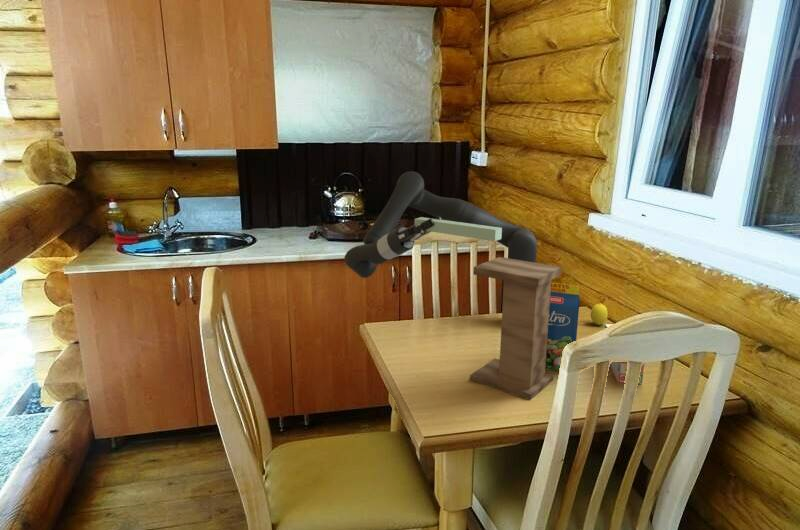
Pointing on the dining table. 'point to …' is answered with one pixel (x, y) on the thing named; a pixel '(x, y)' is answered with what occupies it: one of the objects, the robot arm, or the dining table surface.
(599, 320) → the lemon
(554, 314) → the blue food package
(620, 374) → the stack of blocks
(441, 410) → the dining table surface
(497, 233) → the sage bar
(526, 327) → the walnut stand
